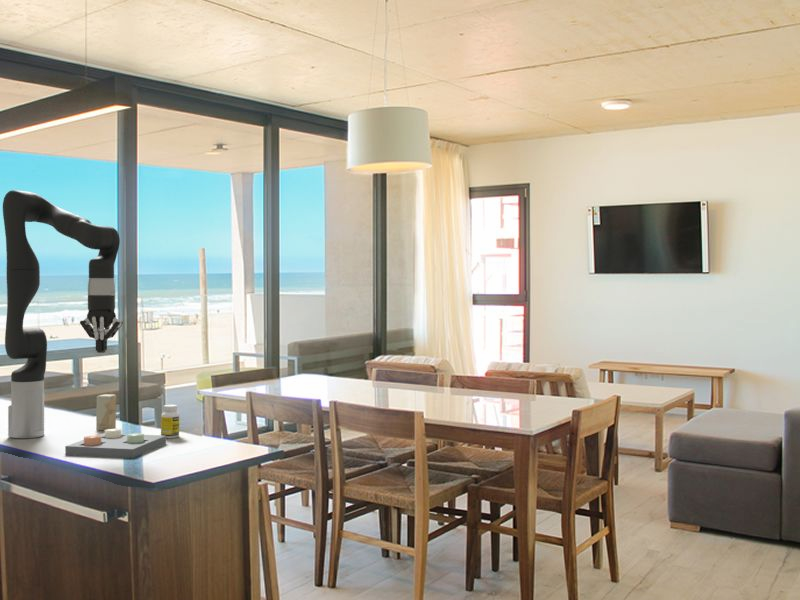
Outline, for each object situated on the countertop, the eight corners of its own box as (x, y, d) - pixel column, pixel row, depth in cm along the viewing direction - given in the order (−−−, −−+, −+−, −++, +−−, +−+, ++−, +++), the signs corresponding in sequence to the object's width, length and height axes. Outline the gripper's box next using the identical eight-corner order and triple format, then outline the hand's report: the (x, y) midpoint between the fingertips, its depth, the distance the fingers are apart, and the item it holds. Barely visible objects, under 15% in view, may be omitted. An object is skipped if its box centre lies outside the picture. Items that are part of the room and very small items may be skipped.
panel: (65, 454, 222) (65, 446, 222) (103, 440, 242) (103, 432, 242) (132, 458, 219) (132, 449, 219) (166, 443, 239) (166, 435, 238)
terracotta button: (80, 452, 224) (80, 438, 224) (89, 449, 228) (89, 435, 228) (95, 453, 223) (95, 438, 223) (104, 449, 228) (104, 435, 227)
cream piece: (101, 444, 235) (101, 431, 235) (109, 441, 239) (109, 428, 239) (116, 445, 234) (116, 431, 234) (124, 442, 238) (124, 429, 238)
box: (108, 430, 258) (108, 396, 258) (95, 430, 259) (95, 396, 259) (116, 428, 263) (116, 394, 263) (104, 427, 264) (104, 393, 264)
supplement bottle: (174, 439, 246) (174, 407, 246) (157, 438, 247) (157, 406, 247) (182, 435, 251) (182, 404, 251) (166, 435, 252) (166, 403, 252)
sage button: (123, 450, 228) (123, 436, 227) (131, 446, 232) (132, 433, 232) (139, 450, 227) (139, 436, 227) (146, 447, 231) (146, 433, 231)
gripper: (73, 293, 234) (73, 353, 235) (115, 294, 232) (115, 354, 232) (87, 293, 242) (87, 351, 242) (128, 293, 239) (128, 352, 240)
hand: (101, 352), depth 237 cm, fingers closed
